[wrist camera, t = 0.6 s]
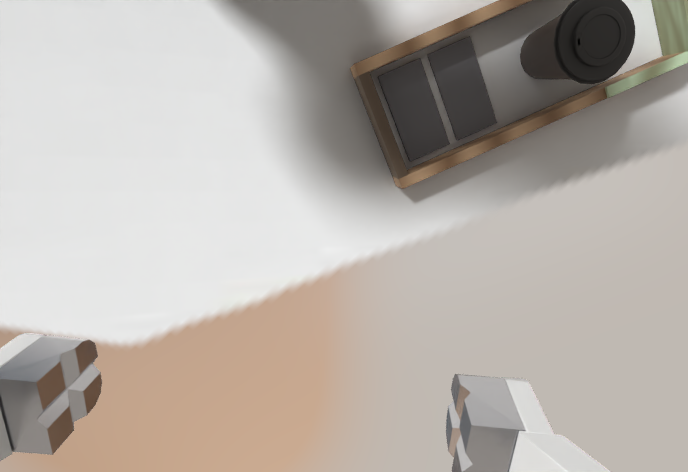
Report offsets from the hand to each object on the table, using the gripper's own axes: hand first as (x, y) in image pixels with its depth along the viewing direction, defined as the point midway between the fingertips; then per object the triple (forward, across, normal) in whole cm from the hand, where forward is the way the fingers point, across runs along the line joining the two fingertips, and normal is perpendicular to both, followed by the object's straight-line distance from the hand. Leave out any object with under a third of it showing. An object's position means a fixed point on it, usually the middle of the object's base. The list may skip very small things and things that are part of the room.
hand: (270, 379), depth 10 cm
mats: (+45, -9, -4) cm, 46 cm away
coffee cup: (+48, -20, -10) cm, 53 cm away
